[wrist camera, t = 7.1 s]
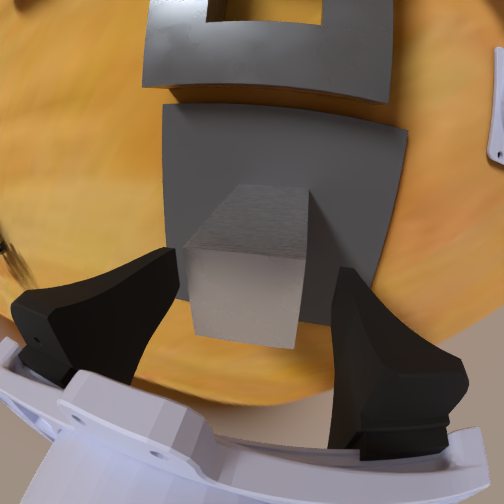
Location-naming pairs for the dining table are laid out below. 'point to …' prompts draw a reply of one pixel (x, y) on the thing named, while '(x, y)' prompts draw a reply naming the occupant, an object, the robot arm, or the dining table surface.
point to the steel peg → (250, 266)
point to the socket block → (272, 50)
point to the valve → (3, 248)
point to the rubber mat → (286, 182)
